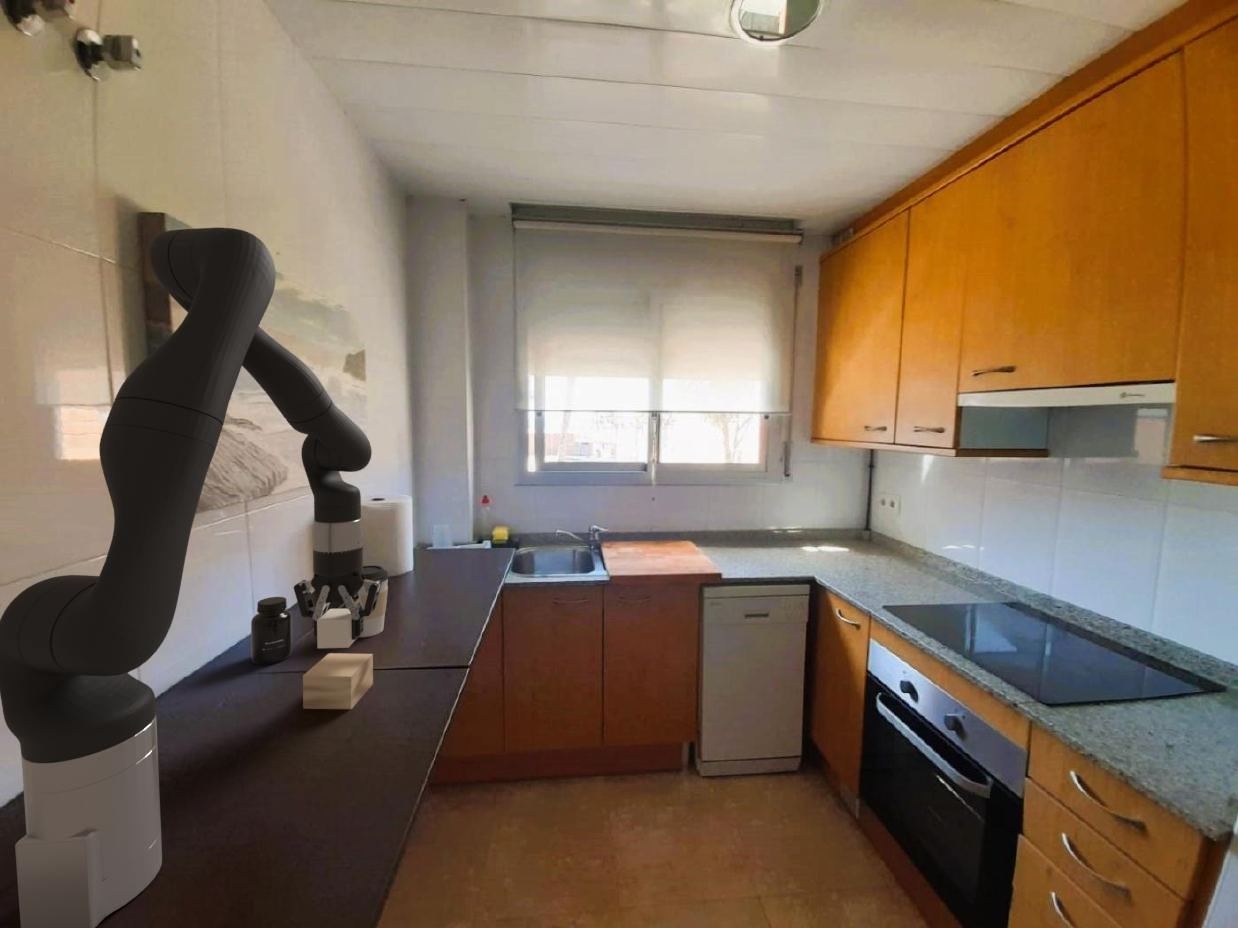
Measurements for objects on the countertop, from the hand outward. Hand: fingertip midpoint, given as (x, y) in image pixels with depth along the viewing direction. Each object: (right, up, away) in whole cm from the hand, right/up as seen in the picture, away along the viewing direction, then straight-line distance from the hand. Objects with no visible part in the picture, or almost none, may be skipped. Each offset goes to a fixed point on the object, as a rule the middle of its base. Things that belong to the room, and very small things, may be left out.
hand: (339, 637), depth 85 cm
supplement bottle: (-21, -9, +13) cm, 27 cm away
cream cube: (0, -1, 0) cm, 1 cm away
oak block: (0, -11, +1) cm, 11 cm away
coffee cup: (-9, -8, +27) cm, 30 cm away
